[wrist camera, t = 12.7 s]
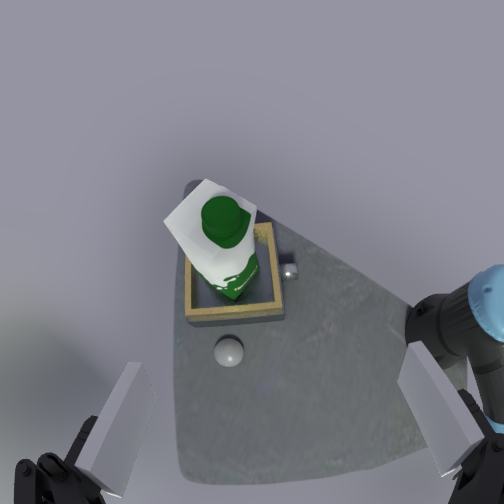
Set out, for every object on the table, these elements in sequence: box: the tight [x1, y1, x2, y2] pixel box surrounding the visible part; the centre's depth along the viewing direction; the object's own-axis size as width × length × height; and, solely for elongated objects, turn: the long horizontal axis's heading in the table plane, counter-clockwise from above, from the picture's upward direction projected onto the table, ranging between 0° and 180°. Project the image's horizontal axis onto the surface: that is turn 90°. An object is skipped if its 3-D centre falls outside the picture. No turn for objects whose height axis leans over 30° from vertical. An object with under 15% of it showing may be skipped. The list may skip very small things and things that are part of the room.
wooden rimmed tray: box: [185, 222, 298, 327], centre depth 47 cm, size 19×16×8 cm
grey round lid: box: [214, 338, 244, 367], centre depth 45 cm, size 5×5×1 cm
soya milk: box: [164, 179, 260, 301], centre depth 37 cm, size 9×9×20 cm
